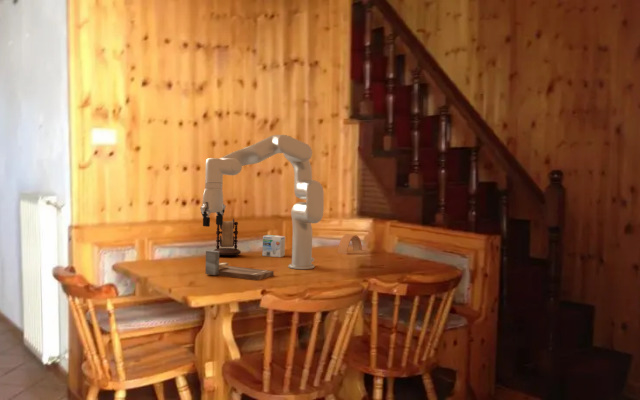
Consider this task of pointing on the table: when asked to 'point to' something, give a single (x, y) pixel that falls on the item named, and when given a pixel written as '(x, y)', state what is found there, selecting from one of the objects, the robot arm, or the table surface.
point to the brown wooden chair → (227, 238)
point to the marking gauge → (213, 263)
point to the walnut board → (245, 273)
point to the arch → (345, 243)
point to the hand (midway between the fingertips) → (212, 225)
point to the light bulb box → (273, 246)
